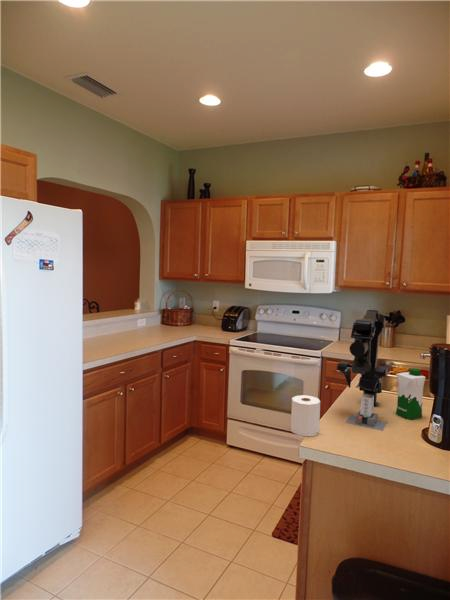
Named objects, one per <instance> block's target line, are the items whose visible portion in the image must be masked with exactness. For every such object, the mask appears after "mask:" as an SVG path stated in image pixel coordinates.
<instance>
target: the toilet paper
mask: <svg viewBox="0 0 450 600" xmlns="http://www.w3.org/2000/svg"><path fill="white" fill-rule="evenodd" d="M290 414H291V415H290V416H291V417H290V418H291V419H290V430H291V432H292V433H293V434H295V435H296V436H301V437H307V436H308V437H314V436H315V437H316V436H317V435H318V434H319V431H320V421H321V419H320V418H321V400H320V399H319V398H318V397H316V396H314V395H313V396H312V395H305V394H302V395H301V394H300V395H295V396H293V397H291V413H290ZM308 434H309V435H308Z"/></svg>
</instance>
